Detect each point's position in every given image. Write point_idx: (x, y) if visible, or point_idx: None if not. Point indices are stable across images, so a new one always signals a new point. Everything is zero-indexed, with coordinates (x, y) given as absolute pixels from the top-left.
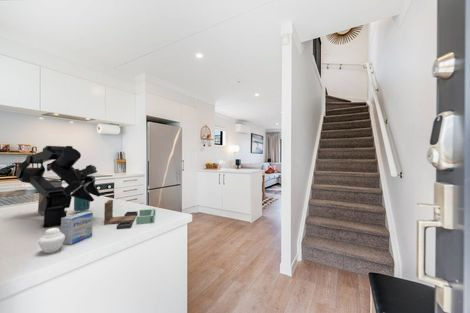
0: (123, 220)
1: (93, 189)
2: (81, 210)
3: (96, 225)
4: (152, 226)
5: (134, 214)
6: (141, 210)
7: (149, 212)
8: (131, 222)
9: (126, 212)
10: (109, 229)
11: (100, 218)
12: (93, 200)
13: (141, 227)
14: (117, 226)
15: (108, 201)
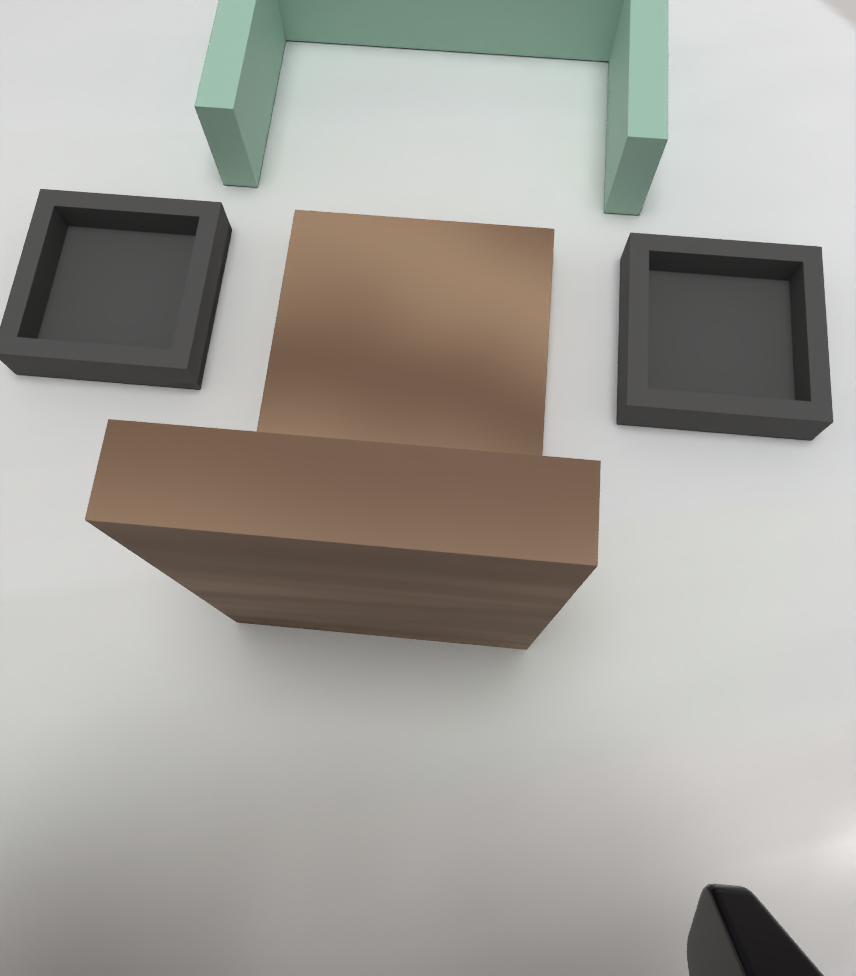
0: (535, 358)
1: None
2: None
3: (522, 772)
4: (796, 43)
5: (219, 228)
6: (241, 86)
7: (269, 20)
8: (694, 243)
9: (30, 350)
10: (796, 534)
11: (76, 785)
12: (743, 899)
13: (806, 154)
14: (830, 412)
15: (330, 503)
